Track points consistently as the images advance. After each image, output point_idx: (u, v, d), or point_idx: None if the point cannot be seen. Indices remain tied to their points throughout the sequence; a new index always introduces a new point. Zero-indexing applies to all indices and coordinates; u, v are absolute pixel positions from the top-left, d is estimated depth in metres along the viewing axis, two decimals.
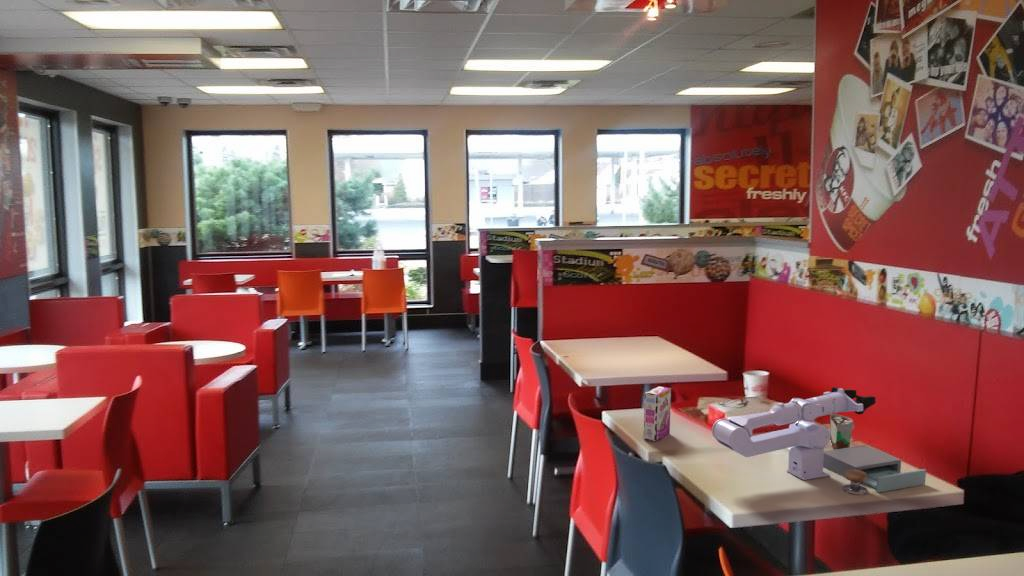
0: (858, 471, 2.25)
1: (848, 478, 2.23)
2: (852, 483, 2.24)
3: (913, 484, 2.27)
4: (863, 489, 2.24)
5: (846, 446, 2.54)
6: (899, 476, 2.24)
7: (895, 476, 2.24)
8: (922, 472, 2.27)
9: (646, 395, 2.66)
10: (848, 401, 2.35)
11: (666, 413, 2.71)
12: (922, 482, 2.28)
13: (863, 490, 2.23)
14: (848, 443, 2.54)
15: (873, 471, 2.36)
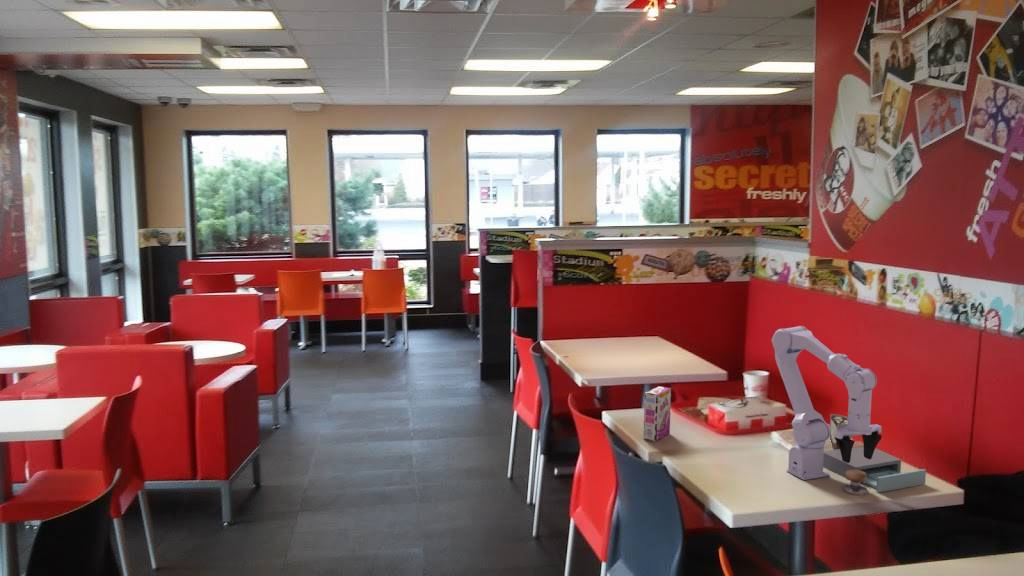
0: (858, 471, 2.25)
1: (848, 478, 2.23)
2: (852, 483, 2.24)
3: (913, 484, 2.27)
4: (863, 489, 2.24)
5: None
6: (899, 476, 2.24)
7: (895, 476, 2.24)
8: (922, 472, 2.27)
9: (646, 395, 2.66)
10: (852, 431, 2.20)
11: (666, 413, 2.71)
12: (922, 482, 2.28)
13: (863, 490, 2.23)
14: None
15: (873, 471, 2.36)
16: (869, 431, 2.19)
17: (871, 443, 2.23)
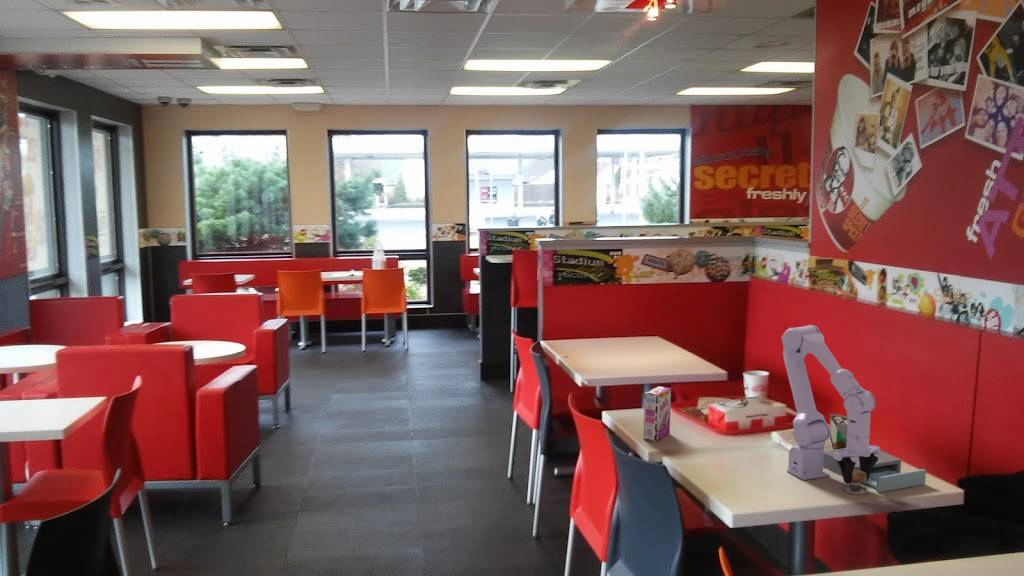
0: (858, 471, 2.25)
1: None
2: (852, 483, 2.24)
3: (913, 484, 2.27)
4: (863, 489, 2.24)
5: None
6: (899, 476, 2.24)
7: (895, 476, 2.24)
8: (922, 472, 2.27)
9: (646, 395, 2.66)
10: None
11: (666, 413, 2.71)
12: (922, 482, 2.28)
13: (863, 490, 2.23)
14: None
15: (873, 471, 2.36)
16: (868, 453, 2.20)
17: (867, 465, 2.23)
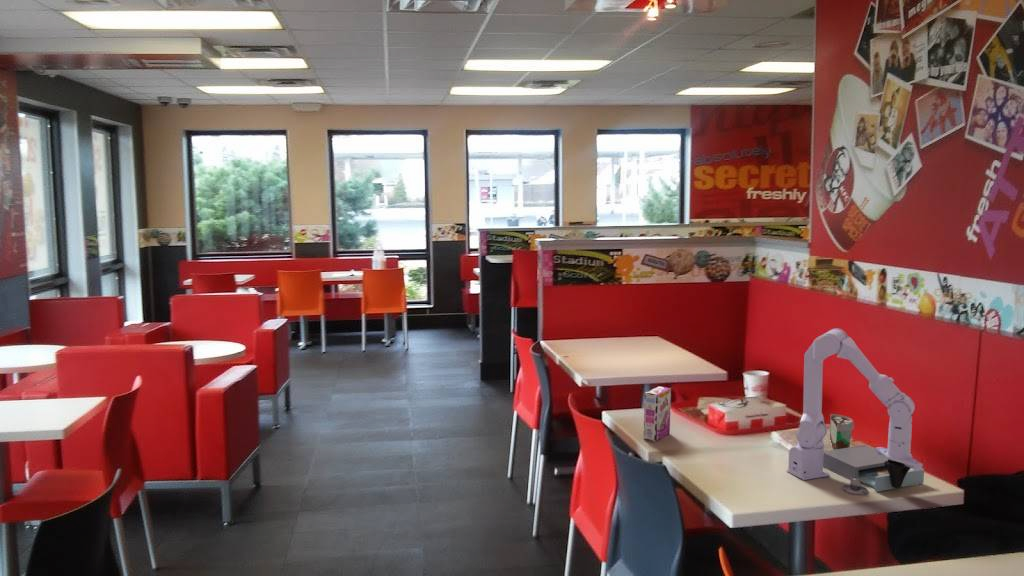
0: None
1: None
2: (852, 483, 2.24)
3: (911, 483, 2.27)
4: (863, 489, 2.24)
5: (846, 446, 2.54)
6: None
7: None
8: (920, 471, 2.28)
9: (646, 395, 2.66)
10: (909, 459, 2.20)
11: (666, 413, 2.71)
12: (920, 481, 2.28)
13: (863, 490, 2.23)
14: (848, 443, 2.54)
15: (871, 470, 2.37)
16: None
17: None
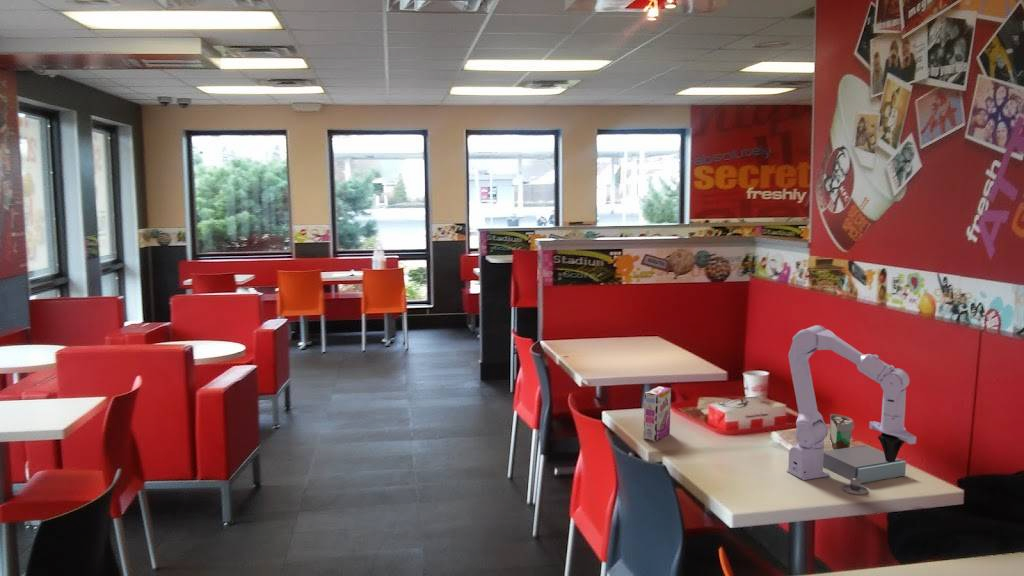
0: None
1: None
2: (852, 483, 2.24)
3: (893, 475, 2.33)
4: (863, 489, 2.24)
5: (846, 446, 2.54)
6: (879, 467, 2.31)
7: (876, 467, 2.31)
8: (902, 463, 2.34)
9: (646, 395, 2.66)
10: (903, 433, 2.17)
11: (666, 413, 2.71)
12: (902, 473, 2.34)
13: (863, 490, 2.23)
14: (848, 443, 2.54)
15: None
16: None
17: None
